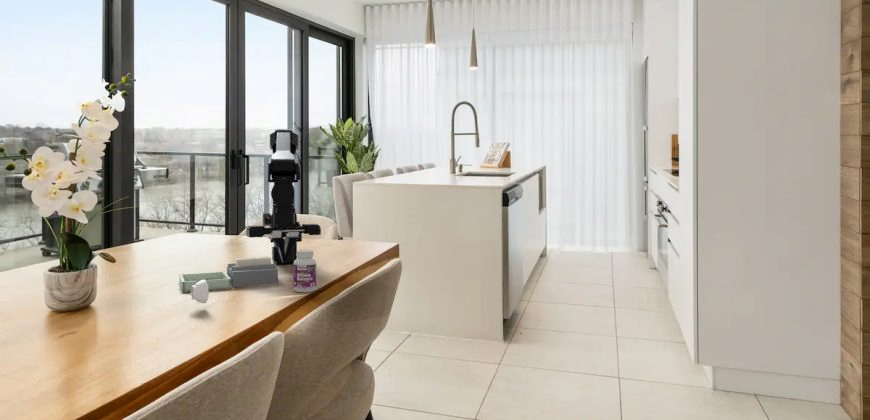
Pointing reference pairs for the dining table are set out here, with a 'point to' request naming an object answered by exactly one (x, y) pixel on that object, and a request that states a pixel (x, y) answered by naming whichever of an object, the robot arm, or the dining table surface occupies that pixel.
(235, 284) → the bench board
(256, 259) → the tile
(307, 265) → the pill bottle
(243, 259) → the tile
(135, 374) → the dining table surface
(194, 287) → the white flared knob
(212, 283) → the tray
